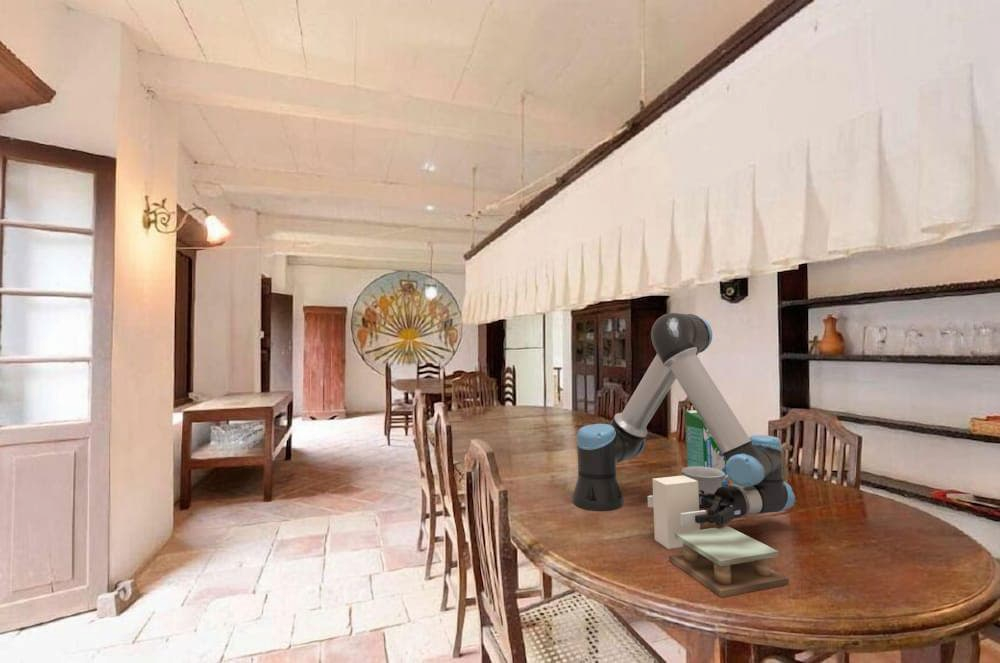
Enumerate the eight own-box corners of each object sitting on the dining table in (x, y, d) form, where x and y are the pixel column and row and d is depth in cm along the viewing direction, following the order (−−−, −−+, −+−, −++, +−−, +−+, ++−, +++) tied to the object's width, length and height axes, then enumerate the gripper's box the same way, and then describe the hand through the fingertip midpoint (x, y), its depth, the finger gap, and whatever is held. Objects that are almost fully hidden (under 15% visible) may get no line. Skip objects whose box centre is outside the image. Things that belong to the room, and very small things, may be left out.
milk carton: (705, 488, 153) (702, 413, 154) (687, 481, 162) (684, 410, 163) (727, 485, 156) (724, 412, 157) (708, 478, 164) (705, 409, 165)
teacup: (732, 516, 127) (731, 480, 127) (677, 506, 136) (676, 472, 136) (740, 504, 137) (739, 470, 137) (688, 495, 146) (687, 464, 146)
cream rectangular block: (654, 539, 113) (652, 478, 114) (685, 535, 115) (683, 475, 116) (668, 548, 108) (665, 484, 108) (700, 543, 110) (698, 481, 111)
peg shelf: (669, 560, 102) (668, 532, 102) (728, 550, 106) (727, 523, 106) (721, 597, 86) (719, 564, 87) (788, 584, 90) (787, 552, 91)
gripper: (778, 534, 105) (699, 546, 99) (704, 500, 128) (636, 509, 123) (776, 500, 105) (697, 511, 99) (702, 473, 129) (635, 480, 123)
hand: (663, 510), depth 111 cm, fingers open, 12 cm apart
